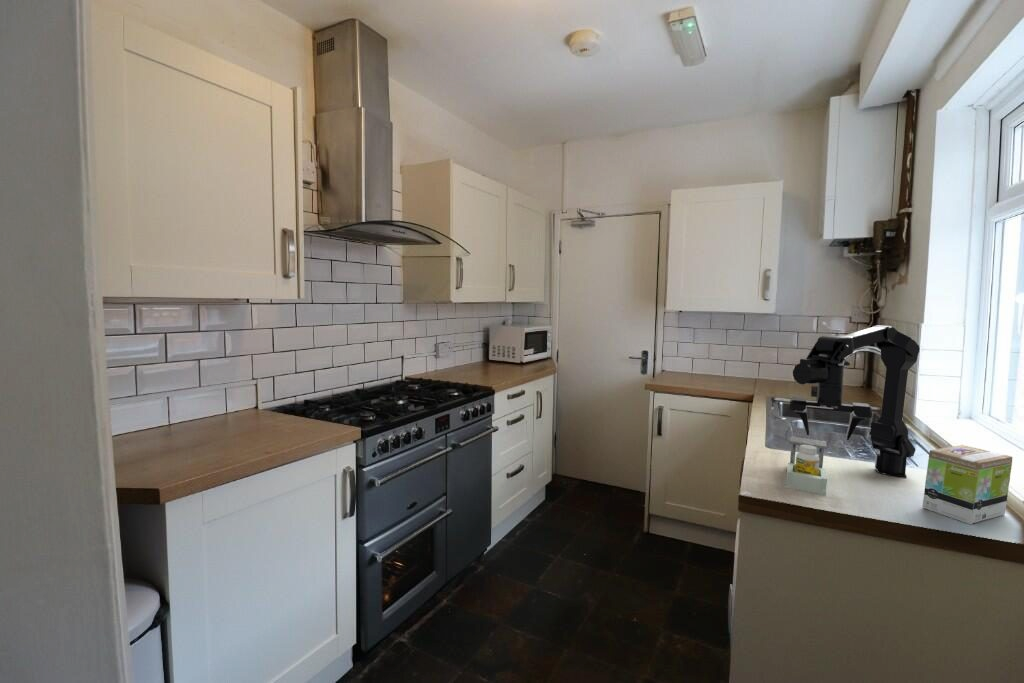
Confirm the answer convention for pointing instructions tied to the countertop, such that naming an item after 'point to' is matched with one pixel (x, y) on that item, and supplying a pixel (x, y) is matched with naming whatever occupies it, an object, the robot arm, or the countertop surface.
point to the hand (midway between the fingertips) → (827, 437)
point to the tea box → (967, 483)
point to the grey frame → (803, 441)
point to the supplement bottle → (807, 460)
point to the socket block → (806, 480)
